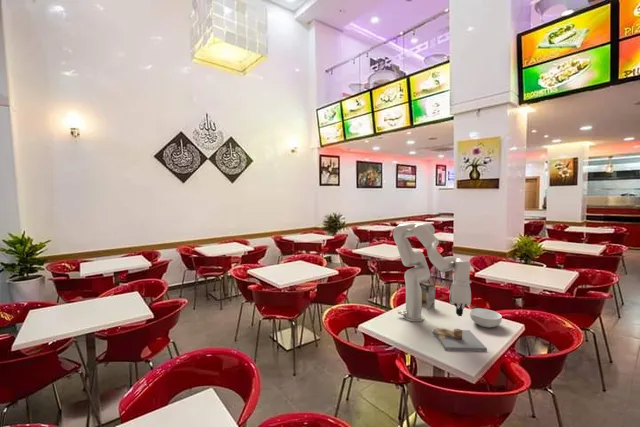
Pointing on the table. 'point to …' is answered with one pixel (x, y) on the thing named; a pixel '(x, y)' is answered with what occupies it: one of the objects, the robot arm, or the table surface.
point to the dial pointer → (450, 332)
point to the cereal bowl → (485, 317)
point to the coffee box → (428, 295)
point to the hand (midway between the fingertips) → (459, 315)
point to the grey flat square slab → (461, 342)
